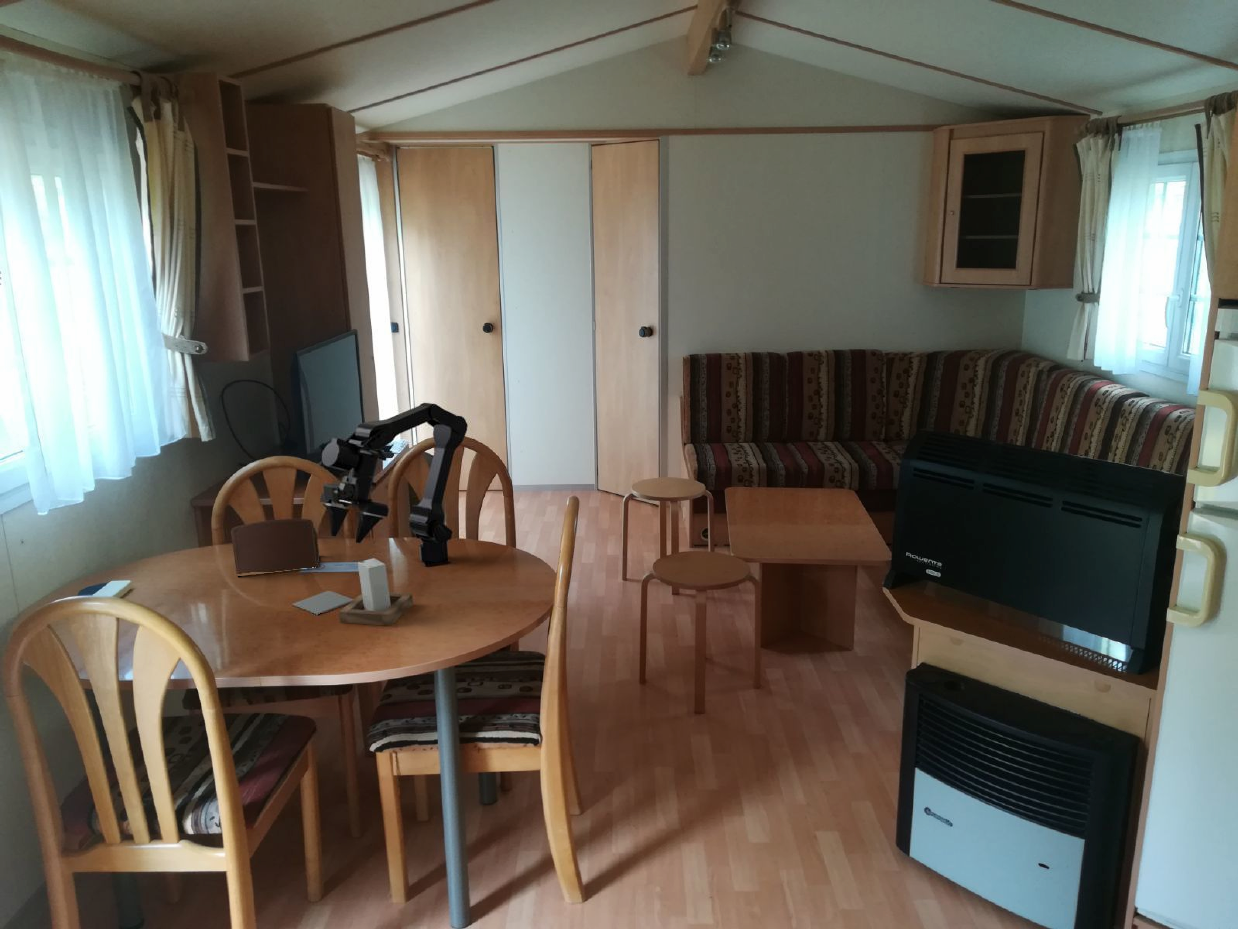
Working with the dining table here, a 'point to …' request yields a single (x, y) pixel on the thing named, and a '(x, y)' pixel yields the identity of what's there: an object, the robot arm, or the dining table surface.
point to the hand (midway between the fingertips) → (345, 539)
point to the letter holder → (275, 546)
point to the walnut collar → (388, 617)
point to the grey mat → (323, 602)
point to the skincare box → (374, 585)
